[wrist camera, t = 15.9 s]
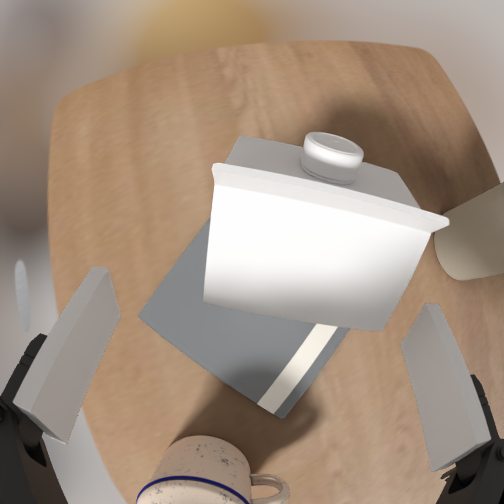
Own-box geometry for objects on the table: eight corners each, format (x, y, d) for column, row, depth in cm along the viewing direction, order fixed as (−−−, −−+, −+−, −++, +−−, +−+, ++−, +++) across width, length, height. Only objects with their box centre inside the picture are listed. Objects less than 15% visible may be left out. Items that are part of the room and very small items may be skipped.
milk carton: (306, 317, 26) (439, 342, 7) (225, 302, 26) (180, 302, 7) (319, 238, 27) (442, 126, 8) (241, 223, 27) (240, 70, 8)
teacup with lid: (172, 501, 23) (146, 570, 11) (152, 432, 24) (106, 493, 13) (286, 494, 23) (305, 567, 12) (277, 423, 25) (298, 491, 13)
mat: (255, 163, 29) (255, 160, 28) (388, 259, 27) (391, 258, 27) (139, 316, 26) (137, 316, 25) (282, 417, 25) (283, 419, 24)
